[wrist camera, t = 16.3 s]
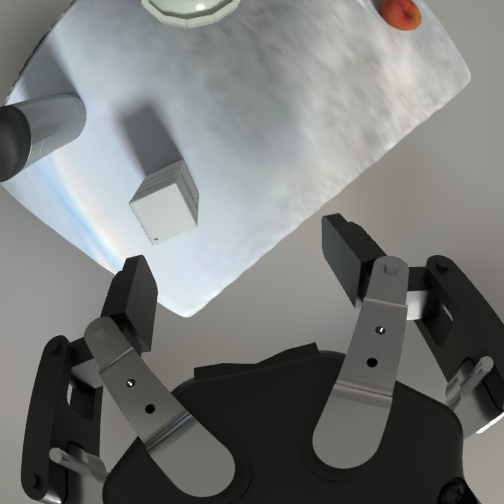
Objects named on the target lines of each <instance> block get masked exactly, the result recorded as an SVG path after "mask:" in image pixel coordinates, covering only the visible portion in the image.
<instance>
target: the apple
mask: <svg viewBox="0 0 504 504" xmlns="http://www.w3.org/2000/svg"><path fill="white" fill-rule="evenodd" d="M381 15H382V17H383V19H384V20H385V21H386V22H387V23H388V24H389V25H390V26H392V27H394V28H396V29H399V30H404V31H409V30H413V29H416V28H417V27H418V26H419V25H420V23H421V14H420V11H419V9H418V7H417V6H416V5H415V3H414V2H412V1H411V0H384V1H383V3H382V5H381Z"/></svg>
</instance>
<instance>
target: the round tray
mask: <svg viewBox="0 0 504 504" xmlns="http://www.w3.org/2000/svg"><path fill="white" fill-rule="evenodd" d="M240 1H241V0H142V5H143V7H144V8H145V9H146V10H147V11H148V12H149V13H150V14H152V15H153V16H154V17H155V18H156V19H157V20H158V21H160V22H161V23H163V24H167V25H172V26H177V27H182V28H187V27H188V28H193V27H197V26H202V25H208V24H213V23H214V22H215V23H216V22H217V21H219V20H220V19H222V18H223V17H225V16H226V15H228V14H229V13H231V12H232V11H234V10H236V8H237V7H238V5H239V3H240Z"/></svg>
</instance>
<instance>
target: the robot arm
mask: <svg viewBox="0 0 504 504" xmlns="http://www.w3.org/2000/svg"><path fill="white" fill-rule="evenodd" d="M85 121H86V111H85V107H84V104H83V102H82V101H81V99H80V98H79V97H77V96H76V95H74V94H70V93H64V94H58V95H51V96H46V97H41V98H36V99H31V100H27V101H23V102H18V103H15V104H11V105H7V106H3V107H0V182H4V181H7V180H8V179H10V178H12V177H13V176H15V175H16V174H18V173H19V172H21V171H22V170H24V169H25V168H27V167H28V166H30V165H31V164H33V163H34V162H36V161H38V160H39V159H41V158H43V157H44V156H46V155H48V154H49V153H51V152H53V151H55V150H56V149H58V148H60V147H62V146H64V145H66V144H68V143H70V142H71V141H73V140H74V139H76V138H77V137H78V136H79V135H80V133H81V132H82V130H83V128H84V125H85ZM322 249H323V254H324V256H325V259H326V261H327V262H328V264H329V265H330V267H331V269H332V270H333V272H334V273H335V275H336V277H337V279H338V280H339V282H340V284H341V285H342V287H343V289H344V290H345V292H346V294H347V295H348V297H349V299H350V301H351V302H352V304H353V306H354V308H358V307H361V306H362V307H361V311H360V314H359V317H358V320H357V324H356V327H355V330H354V333H353V336H352V339H351V342H350V345H349V348H348V351H347V354H343V353H339V352H335V351H325V350H324V351H323V350H321V351H319V350H318V348H317V345H316V343H315V342H314V343H311V344H307V345H303V346H300V347H296V348H292V349H288V350H285V351H283V352H281V353H278V354H276V355H274V356H272V357H270V358H268V359H266V360H263V361H261V362H259V363H256V364H233V363H221V364H216V365H210V366H203V367H197V368H194V377H193V378H191V379H189V380H187V381H185V382H183V383H182V384H180V385H179V386H177V387H176V388H175V389H174V390H173V391H172V392H171V393H170V392H169V391H168V389H167V388H166V387H165V386H164V385H163V384H162V383H161V382H160V380H159V379H158V378H157V377H156V376H155V375H154V373H153V372H152V371H151V370H150V368H149V367H148V366H147V365H146V364H145V362H144V361H143V360H142V359H141V353H142V352H150V351H151V344H152V334H153V326H154V318H155V310H156V303H157V296H158V289H157V284H156V281H155V279H154V277H153V275H152V273H151V270H150V268H149V266H148V264H147V261H146V259H145V257H144V256H143V255H138V256H134V257H130V258H127V259H126V261H125V264H124V266H123V269H122V271H119V272H118V273H117V274H116V276H115V277H114V278H113V280H112V282H111V285H110V289H109V291H108V294H107V295H108V296H107V297H106V300H105V303H104V306H103V310H102V313H101V316H100V318H97V319H95V320H94V321H92V322H91V323H90V324H89V325H88V327H87V328H86V330H85V333H84V337H82V338H80V339H78V340H76V341H73V342H71V343H70V342H69V341H68V339H67V338H66V337H65V336H62V335H59V336H56V337H54V338H52V339H51V340H50V341H49V342H48V343H47V344H46V346H45V348H44V350H43V354H42V357H41V360H40V364H39V367H38V372H37V375H36V379H35V383H34V387H33V391H32V396H31V401H30V406H29V411H28V416H27V423H26V429H25V436H24V443H23V453H22V465H21V483H22V487H23V489H24V491H25V493H26V494H27V495H28V496H29V497H30V498H32V499H33V500H36V501H39V502H42V503H45V504H481V503H480V501H479V500H478V499H477V497H476V496H475V495H474V493H473V492H472V491H471V489H470V488H469V487H468V485H467V483H466V481H465V478H464V474H463V463H462V453H463V452H462V451H463V441H464V440H465V439H467V438H468V437H470V436H472V435H473V434H475V433H482V432H485V431H486V430H487V429H489V428H490V427H492V426H493V425H494V424H496V423H497V422H498V421H500V420H501V419H502V418H504V324H503V323H502V322H501V320H500V318H498V316H497V314H496V313H495V312H494V310H493V309H492V308H491V306H490V305H489V304H488V302H487V301H486V300H485V299H484V297H483V296H482V295H481V293H480V292H479V291H478V290H477V289H476V288H475V286H474V285H473V284H472V282H471V281H470V280H469V279H468V278H467V277H466V275H465V274H464V273H463V272H462V271H461V270H460V268H459V267H458V266H457V265H456V264H455V263H454V262H453V261H452V260H451V259H449V258H447V257H445V256H440V255H435V256H431V257H429V258H428V260H427V262H426V266H425V267H408V265H407V264H406V263H405V262H404V261H403V260H402V259H400V258H397V257H394V256H387V255H386V254H385V253H384V251H383V250H382V249H381V248H380V247H379V246H378V245H377V244H376V242H375V241H374V240H373V239H372V238H371V237H370V236H369V235H368V234H367V232H366V231H365V230H364V229H363V228H362V227H361V226H359V225H357V224H355V223H353V222H347V221H346V220H345V219H344V218H343V217H342V216H341V214H339V213H336V214H331V215H327V216H323V217H322ZM444 305H445V307H446V308H447V310H448V311H449V312H450V314H451V316H452V318H453V322H452V320H451V319H450V317H449V316H448V314H447V313H446V311H445V310H444ZM412 319H413V320H414V321H415V323H416V325H417V327H418V328H419V330H420V332H421V334H422V335H423V337H424V339H425V340H426V342H427V344H428V346H429V348H430V349H431V351H432V353H433V355H434V357H435V359H436V361H437V363H438V364H439V366H440V368H441V370H442V372H443V374H444V376H445V378H446V379H447V382H448V384H447V387H446V393H445V394H446V399H447V400H446V405H447V406H446V405H445V404H443V403H441V402H439V401H437V400H435V399H433V398H431V397H429V396H426V395H424V394H422V393H420V392H418V391H416V390H414V389H412V388H410V387H408V386H406V385H404V384H402V383H400V382H398V381H397V380H396V376H397V372H398V367H399V362H400V357H401V351H402V345H403V340H404V334H405V326H406V320H412ZM69 384H70V385H71V386H73V387H72V394H71V400H70V406H69V404H68V402H67V391H68V385H69ZM103 385H105V386H106V387H107V389H108V391H109V392H110V394H111V396H112V397H113V399H114V401H115V402H116V404H117V405H118V407H119V408H120V410H121V411H122V413H123V414H124V416H125V417H126V419H127V420H128V422H129V423H130V425H131V426H132V428H133V429H134V431H135V432H136V433H137V435H138V436H137V438H136V439H135V440H134V442H133V443H132V444H131V446H130V447H129V448H128V449H127V451H126V452H125V453H124V455H123V456H122V458H121V459H120V460H119V461H118V463H117V464H116V465H115V467H114V468H113V469H112V470H111V472H110V473H108V472H107V471H106V467H105V465H104V463H103V462H102V460H101V459H100V458H99V450H100V449H99V448H100V447H99V446H100V421H101V406H102V394H103Z"/></svg>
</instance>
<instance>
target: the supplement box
mask: <svg viewBox="0 0 504 504" xmlns="http://www.w3.org/2000/svg"><path fill="white" fill-rule="evenodd" d="M129 205H130V207H131V209H132V211H133V212H134V214H135V216H136V218H137V219H138V221H139V223H140V225H141V227H142V228H143V230H144V231H145V233H146V235H147V236H148V238H149V240H150V241H151V243H152V245H156V244H158V243H160V242H163V241H165V240H168V239H170V238H172V237H175V236H177V235H180V234H182V233H185V232H187V231H190V230H192V229H195V228H197V221H198V205H199V193H198V191H197V189H196V187H195V185H194V183H193V181H192V178H191V176H190V174H189V172H188V169H187V167H186V165H185V162H184V160H183V159H182V160H180V161H178V162H175V163H173V164H171V165H169V166H166V167H164V168H162V169H160V170H158V171H156V172H153V173H151V174H149V175H147V176H146V178H145V179H144V180H143V182H142V184H141V185H140V187H139V188H138V190H137V191H136V193H135V195H134V196H133V198H132V199H131V201H130V202H129Z"/></svg>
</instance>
